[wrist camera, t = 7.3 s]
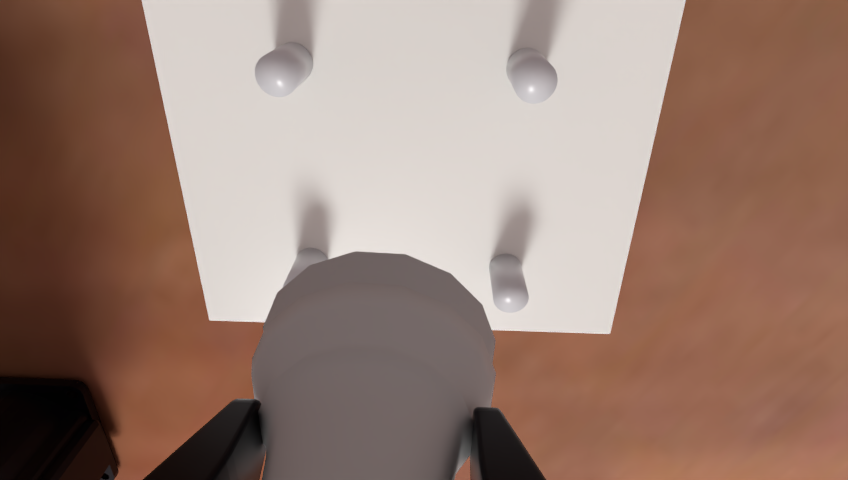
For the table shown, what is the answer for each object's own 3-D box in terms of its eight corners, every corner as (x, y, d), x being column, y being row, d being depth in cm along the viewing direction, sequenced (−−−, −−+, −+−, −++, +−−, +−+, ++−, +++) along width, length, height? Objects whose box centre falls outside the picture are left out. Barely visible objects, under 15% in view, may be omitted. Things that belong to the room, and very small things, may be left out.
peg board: (218, 305, 23) (188, 353, 20) (149, -46, 16) (92, -46, 14) (603, 318, 22) (624, 368, 20) (679, -36, 16) (725, -33, 13)
